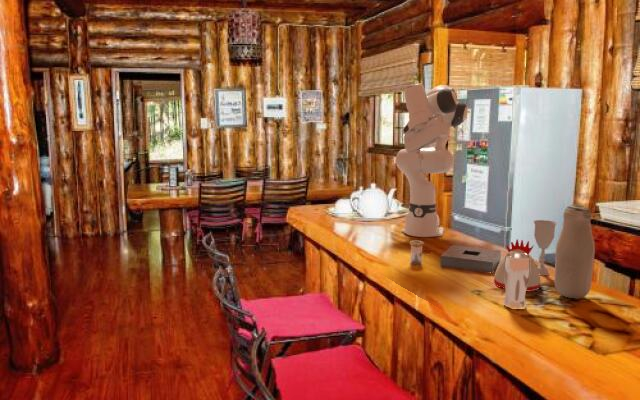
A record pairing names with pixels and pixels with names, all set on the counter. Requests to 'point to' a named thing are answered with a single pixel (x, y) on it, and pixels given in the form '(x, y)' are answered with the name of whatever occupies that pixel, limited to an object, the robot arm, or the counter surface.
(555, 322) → the counter surface
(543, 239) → the chalice
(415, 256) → the bushing
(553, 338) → the counter surface
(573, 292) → the glass bottle
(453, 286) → the counter surface
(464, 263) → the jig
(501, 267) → the kitchen timer
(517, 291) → the beer glass
